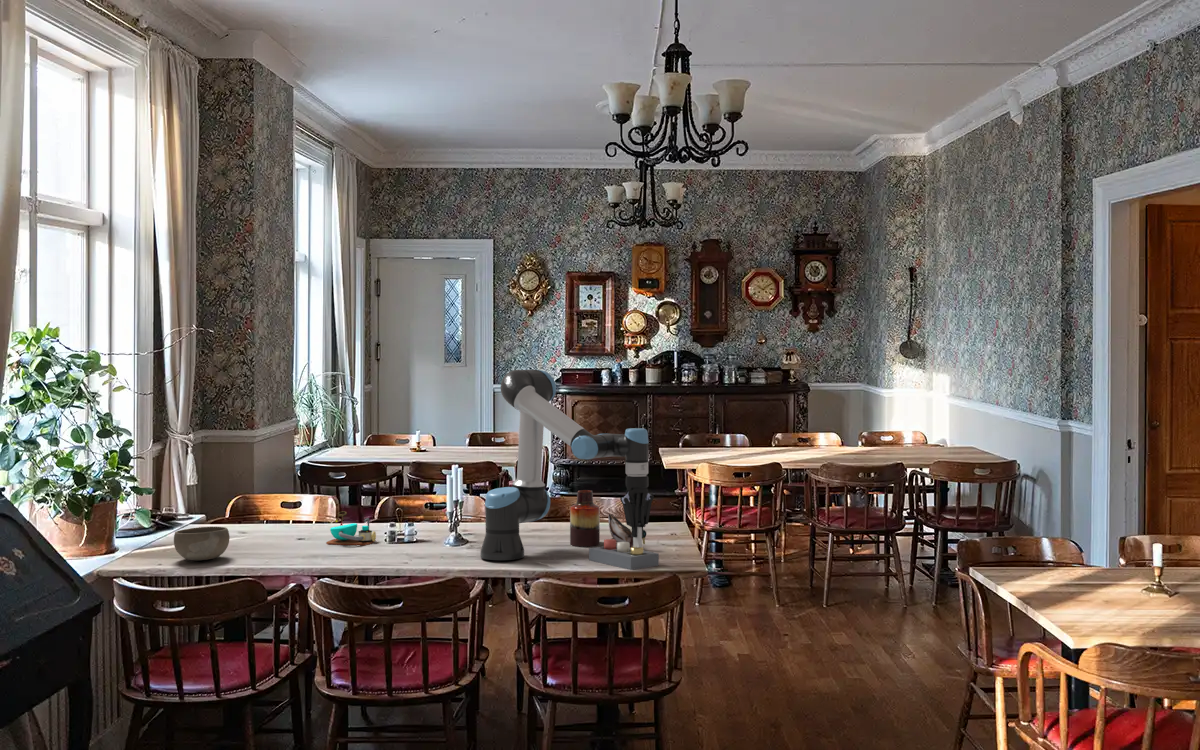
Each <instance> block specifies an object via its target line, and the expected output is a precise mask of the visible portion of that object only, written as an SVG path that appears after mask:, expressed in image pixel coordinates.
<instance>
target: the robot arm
mask: <svg viewBox="0 0 1200 750" xmlns="http://www.w3.org/2000/svg"><path fill="white" fill-rule="evenodd" d="M500 392H501V395H502V397H503V398H504V400H505V401H506V402H507V403H508V404H509V405H510V406H512V407H513V408H514V409H516V410H517V411H519V426H518V427H519V428H518V429H519V430H518V447H517V448H518V450H517V472H516V479H515V480H514V481H513V482H512V484H511V486H505V487H503V486H502V487H497V488H494V489H490V490H489V491H487V493H486V494H485V503H484V505H485V507H484V508H485V509H484V511H485V514H484V515H485V516H484V517H485V536H484V539H483V542H482V545H481V548H480V558H481V559H483V560H487V561H489V560H490V561H511V560H512V561H513V560H519V559H522V558H524V557H525V548H524V544H523V542H522V539H521V535H520V524H523V523H530V522H531V523H533V522H536V521H538V520H542V519H543V518H544V517H546V515H547V514H548V512H549V511H550V507H551V496H550V495H549V492H548V491H547V490H546V483H544V482H543V480H542V464H543V447H544V446H543V443H544V428H545V429H546V430H548V431H549V432H550V433H552V434H553V435H555V436H556V437H557V438H559V440H561V441H563V442H564V443H565V444H566V445H568V446H569V447H570V448H571V452H572V454H573V456H574V457H575V458H577V459H579V460H592V459H598V458H606V457H607V458H608V457H609V458H610V457H621V458H625V474H626V476H625V487H626V491H625V495H624V496H622V497H620V498H619V499H620V502H621V504H622V509H623V512H624V519H625V522H626V526H627V527H630V528H631V532H632V537H633V547H638V548H639V547H643V539H642V536H643V530H644V528H645V527H646V525H648V524H649V520H650V515H651V508H652V503H653V500H654V497H655V495H652V494H650V493H649V489H648V487H649V485H650V484H649V476H648V474H649V443H650V442H649V435H648V430H647V429H646V428H641V427H639V428H638V427H635V428H631V427H630V428H626V429H625V432H624V434H623V433H622V434H619V433H609V432H608V433H598V434H592V433H591V432H589V431H588V430H587V429H585V428H584V427H583V426H581V425H580V424H579V423H577V422H576V421H575V420H573V419H572V418H571V417H570V416H568V415H566V413H564V412H563V411H562V410H560V409H558V408H557V407H556V406H555V405H553V404H552V403H551V401H552V400H553V398H554V397H555V395H556V393H557V385H556V380H555V379H554V377H553V376H552V374H550V373H549V372H547V371H545V370H542V369H514V370H510V371H509V372H508V373H506V374H505V375H504V376H503V378H502V379H501V382H500Z"/></svg>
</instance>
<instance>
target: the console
mask: <svg viewBox="0 0 1200 750" xmlns="http://www.w3.org/2000/svg"><path fill="white" fill-rule="evenodd" d="M588 560H589V561H591V562H596V563H600V564H604V565H605V564H606V565H608V566H613V567H618V568H621V569H625V570H630V571H631V570H637V569H644V568H651V567H658V566H659V564H660V561H659V560H660V559H659V553H658V552H653V551H650V550H649V551H648V550H644V549H643V555H638V556H635V555H631V548H630V552H625V553H621V552H617V544H616V549H613V550H607V549H604V545H603V546H595V547H588Z"/></svg>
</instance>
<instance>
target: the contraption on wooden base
mask: <svg viewBox="0 0 1200 750" xmlns="http://www.w3.org/2000/svg"><path fill="white" fill-rule="evenodd" d="M346 515H347V511H345V510H344V511H343V510H342V511H339V512H337V518H336V520H335V522H336V523H338V520H339V517H342V518H341V522H340V523H339V524H340V525H338V526H333V527H330V528H329V530H330V533H331V535H332V537H333V539H331V540H328V541H326V542H325V544H326V545H327V546H328V545H329V546H357V545H360V546H359V547H365V546H369V545H371V544H374V543H375V542H376V538H377V533H376V531H373V530H371V529H370V518H369V517H367V518H365V519H364V523H367V525H362V526H361V530H359V531H358V523H356V522H355V523H348V524H344V523H343V520H344V517H345V516H346ZM343 524H344V525H343ZM357 531H358V536H356V533H357Z"/></svg>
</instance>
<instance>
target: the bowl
mask: <svg viewBox="0 0 1200 750" xmlns="http://www.w3.org/2000/svg"><path fill="white" fill-rule="evenodd" d="M230 538H231V537H230V532H229V529H228V527H226V526H224V527H223V526H199V527H192V528H185V529H180V530H177V531H175V532H174V535H173V545H174V548H175V551H176V552H177V553H178V555H179V556H180V557H182V558H183V559H185V560H189V561H205V560H206V561H207V560H213V559H216V558H218V557H220V556H222V555H223V554H224V553H225V552H226V550H227V548H228V546H229V544H230Z"/></svg>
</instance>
